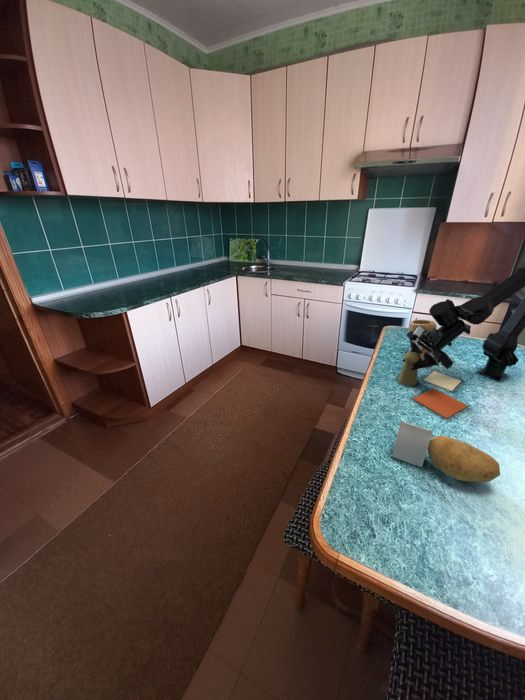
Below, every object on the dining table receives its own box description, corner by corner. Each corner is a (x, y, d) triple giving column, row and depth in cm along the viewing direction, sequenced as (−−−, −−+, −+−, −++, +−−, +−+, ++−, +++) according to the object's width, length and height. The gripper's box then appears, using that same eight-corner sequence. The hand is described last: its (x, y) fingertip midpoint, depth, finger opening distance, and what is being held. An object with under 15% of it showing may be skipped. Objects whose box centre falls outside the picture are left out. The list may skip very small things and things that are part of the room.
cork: (418, 386, 99) (426, 358, 94) (399, 385, 100) (406, 357, 95) (414, 377, 104) (421, 350, 99) (396, 375, 105) (402, 349, 100)
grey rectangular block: (421, 467, 69) (432, 436, 65) (391, 456, 73) (399, 426, 68) (423, 457, 72) (433, 426, 68) (394, 447, 75) (401, 417, 71)
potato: (490, 504, 61) (504, 478, 57) (418, 471, 69) (426, 446, 65) (493, 473, 68) (506, 448, 64) (427, 446, 75) (435, 422, 72)
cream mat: (433, 371, 108) (434, 370, 107) (461, 381, 101) (461, 380, 101) (423, 380, 102) (423, 379, 102) (451, 391, 96) (451, 390, 96)
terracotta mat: (433, 389, 98) (433, 388, 98) (467, 406, 89) (467, 405, 89) (412, 399, 93) (412, 398, 93) (446, 419, 85) (446, 418, 84)
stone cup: (407, 346, 126) (415, 313, 120) (438, 353, 120) (448, 319, 113) (397, 359, 116) (404, 325, 109) (429, 368, 109) (440, 332, 102)
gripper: (417, 309, 100) (381, 339, 104) (454, 330, 84) (410, 366, 88) (432, 328, 105) (397, 357, 109) (471, 352, 88) (428, 385, 92)
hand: (407, 365), depth 99 cm, fingers closed on cork, 5 cm apart
